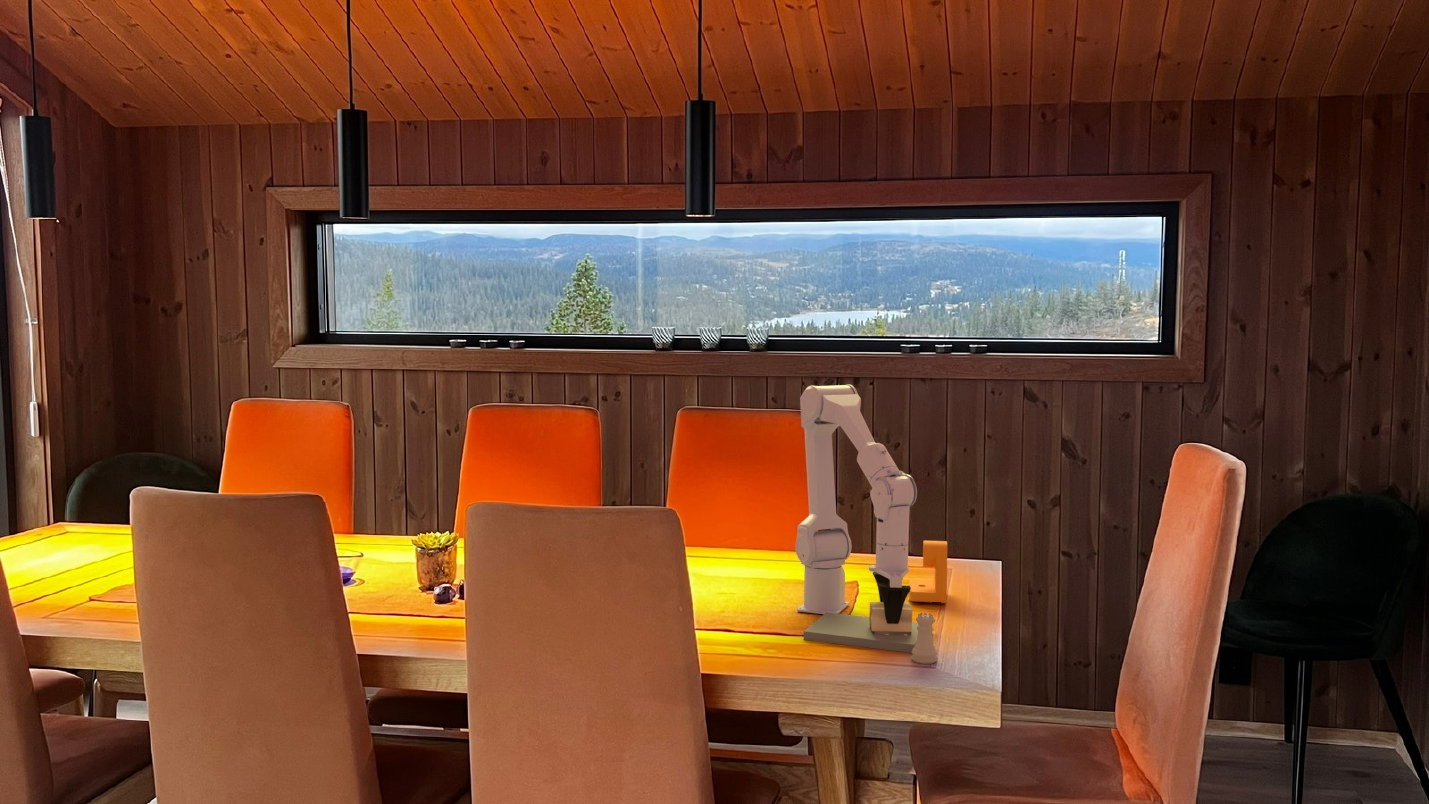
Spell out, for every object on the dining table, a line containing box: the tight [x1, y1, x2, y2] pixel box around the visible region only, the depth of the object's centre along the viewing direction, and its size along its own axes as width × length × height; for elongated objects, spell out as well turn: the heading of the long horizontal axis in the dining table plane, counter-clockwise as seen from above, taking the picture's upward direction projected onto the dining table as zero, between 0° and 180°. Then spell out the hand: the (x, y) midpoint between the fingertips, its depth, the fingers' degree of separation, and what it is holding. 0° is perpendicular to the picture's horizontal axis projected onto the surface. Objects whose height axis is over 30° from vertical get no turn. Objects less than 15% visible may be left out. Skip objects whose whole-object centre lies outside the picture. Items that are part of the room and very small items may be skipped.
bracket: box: [908, 540, 948, 604], centre depth 246 cm, size 11×7×12 cm, turn 171°
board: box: [803, 612, 918, 654], centre depth 220 cm, size 14×20×2 cm
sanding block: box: [868, 601, 913, 634], centre depth 218 cm, size 5×7×4 cm
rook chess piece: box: [910, 611, 939, 665], centre depth 205 cm, size 4×4×8 cm
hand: (890, 617), depth 218 cm, fingers open, 7 cm apart
